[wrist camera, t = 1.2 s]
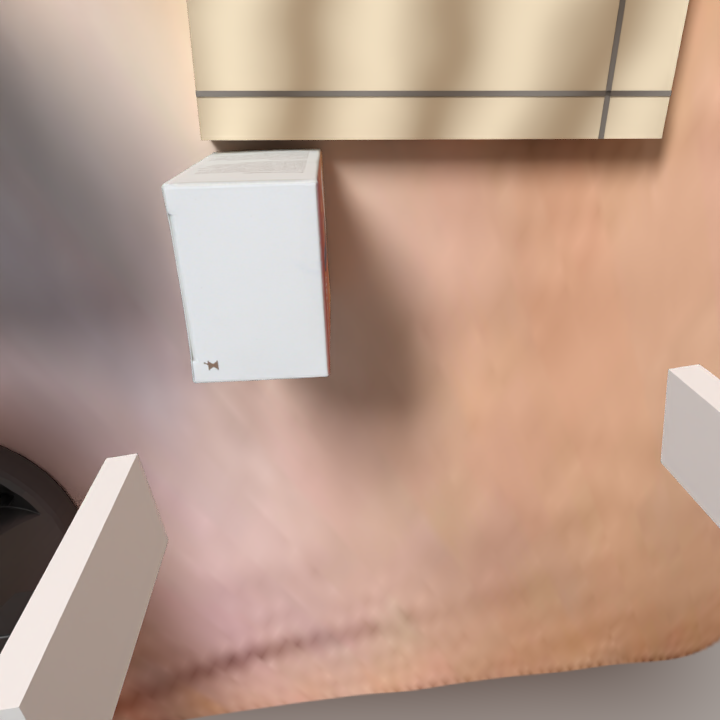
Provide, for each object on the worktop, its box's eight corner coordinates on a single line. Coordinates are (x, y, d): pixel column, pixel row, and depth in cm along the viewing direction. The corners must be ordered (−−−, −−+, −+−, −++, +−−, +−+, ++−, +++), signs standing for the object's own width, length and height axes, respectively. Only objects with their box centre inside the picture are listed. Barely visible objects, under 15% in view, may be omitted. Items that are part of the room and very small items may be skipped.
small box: (331, 296, 34) (332, 383, 25) (230, 300, 34) (191, 389, 24) (323, 144, 31) (321, 177, 21) (211, 148, 31) (158, 183, 21)
